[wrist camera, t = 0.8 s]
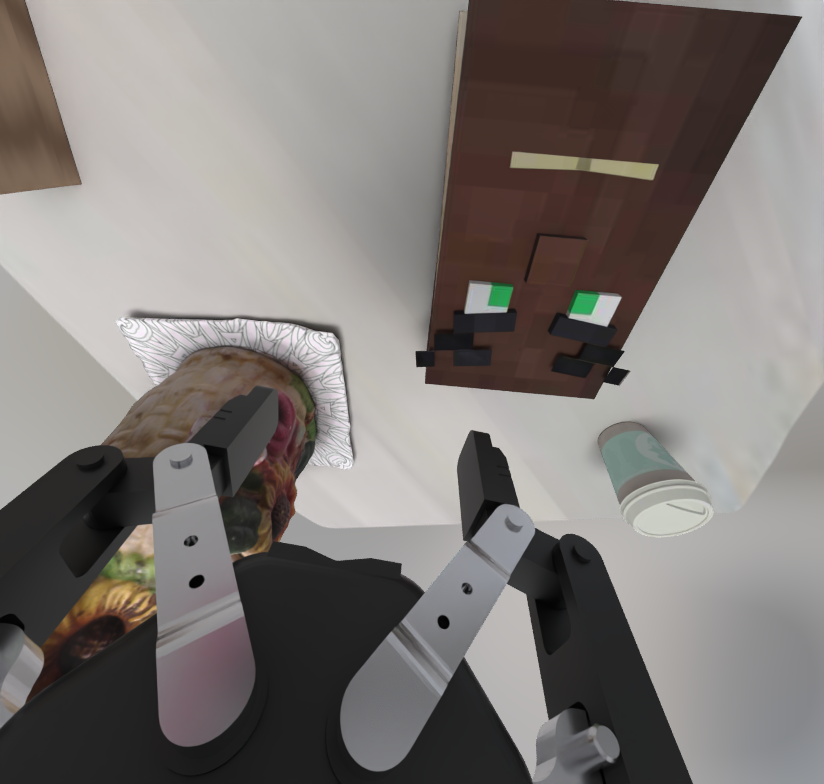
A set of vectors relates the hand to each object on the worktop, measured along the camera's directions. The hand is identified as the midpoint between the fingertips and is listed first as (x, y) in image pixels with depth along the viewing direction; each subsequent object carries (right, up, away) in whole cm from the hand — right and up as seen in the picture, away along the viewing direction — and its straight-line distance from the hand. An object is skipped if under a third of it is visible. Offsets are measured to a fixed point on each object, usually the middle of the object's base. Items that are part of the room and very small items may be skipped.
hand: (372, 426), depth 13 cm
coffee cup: (+30, -5, +30) cm, 43 cm away
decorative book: (+13, +16, +16) cm, 26 cm away
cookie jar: (-19, +1, +30) cm, 35 cm away
